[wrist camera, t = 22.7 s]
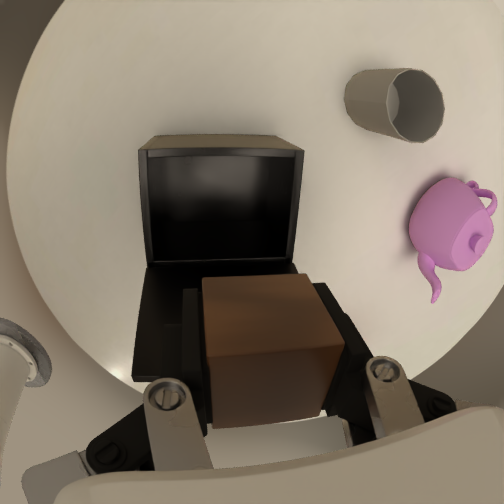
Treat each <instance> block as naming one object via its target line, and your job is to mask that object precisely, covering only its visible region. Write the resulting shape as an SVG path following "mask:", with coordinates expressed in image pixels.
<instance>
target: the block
mask: <svg viewBox="0 0 504 504" xmlns="http://www.w3.org/2000/svg"><path fill="white" fill-rule="evenodd" d="M202 295H203V313H204V329H205V344H206V357H207V365H208V366H209V373H210V389H211V404H212V417H213V423H211V425H212V428H213V429H218V428H219V429H220V428H233V427H244V426H254V425H264V424H272V423H280V422H287V421H293V420H300V419H306V418H312V417H317V416H319V414H320V412H321V408H322V406H323V403H324V401H325V398H326V395H327V393H328V390H329V387H330V385H331V382H332V379H333V376H334V373H335V371H336V368H337V365H338V362H339V359H340V356H341V353H342V351H343V348H344V345H345V342H344V340H343V338H342V336H341V334H340V332H339V331H338V329H337V327H336V325H335V323H334V322H333V320H332V318H331V316H330V315H329V313H328V311H327V309H326V307H325V306H324V304H323V302H322V300H321V299H320V297H319V295H318V293H317V292H316V290H315V288H314V286H313V285H312V283H311V281H310V279H309V278H308V276H307V274H305V273H304V274H282V275H258V276H232V277H204V278H202Z"/></svg>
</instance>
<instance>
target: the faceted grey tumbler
mask: <svg viewBox="0 0 504 504" xmlns="http://www.w3.org/2000/svg"><path fill="white" fill-rule="evenodd" d="M344 101H345V105H346V109H347V113H348V114H349V116H350V117H351V118H352V120H353V121H354V122H355V124H357V125H359V126H361V127H362V128H364V129H366V130H369V131H373V132H377V133H380V134H384V135H387V136H391V137H394V138H397V139H401V140H404V141H407V142H410V143H424V142H426V141H428V140H429V139H431V138H433V137H434V136H435V135H436V133H437V132H438V130H439V129H440V127H441V125H442V122H443V117H444V111H445V107H444V101H443V95H442V92H441V90H440V88H439V86H438V85H437V83H436V81H435V79H433V78H432V77H431V76H430V75H428V74H427V73H426V72H424V71H423V70H418V69H412V68H399V69H378V70H365V71H362V72H360V73H358V74H356V75H354V76H353V77H352V79H351V80H350V81H349V83H348V84H347V86H346V90H345V97H344Z"/></svg>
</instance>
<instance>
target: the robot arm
mask: <svg viewBox="0 0 504 504" xmlns="http://www.w3.org/2000/svg"><path fill="white" fill-rule="evenodd" d="M312 285H313V286H314V288H315V290H316V292H317V293H318V295H319V297H320V299H321V300H322V302H323V304H324V306H325V307H326V309H327V311H328V313H329V315H330V316H331V318H332V320H333V322H334V323H335V325H336V327H337V329H338V331H339V332H340V334H341V336H342V338H343V340H344V342H345V345H344V348H343V351H342V353H341V356H340V359H339V362H338V365H337V368H336V371H335V373H334V376H333V379H332V382H331V385H330V387H329V390H328V393H327V395H326V398H325V401H324V403H323V406H322V408H321V410H325V411H326V413H327V416H328V417H330V416H335V415H338V417H340V418H342V424H343V429H344V434H345V439H346V445H347V448H345V449H341V450H337V451H333V452H329V453H325V454H320V455H315V456H311V457H306V458H300V459H295V460H289V461H282V462H276V463H269V464H263V465H254V466H246V467H236V468H222V469H214V468H213V465H212V462H211V459H210V456H209V453H208V450H207V447H206V444H205V440H204V437H205V436H206V435H207V424H209V423H213V417H212V404H211V389H210V373H209V366H208V365H207V357H206V344H205V329H204V313H203V295H202V292H198V288H196V289H183V311H182V324H164V328H163V339H162V352H161V366H160V379H157V380H155V381H153V382H151V383H150V384H149V385H148V386H147V387H146V389H145V391H144V393H143V402H144V403H143V404H142V405H140V406H139V407H138V408H136V409H135V410H134V411H132V412H131V413H130V414H128V415H127V416H126V417H124V418H123V419H121V420H120V421H118V422H117V423H116V424H114V425H113V426H111V427H110V428H109V429H107V430H106V431H105V432H103V433H101V434H100V435H99V436H97V437H96V438H94V439H93V440H92V441H91V442H90V443H89V445H88V447H87V448H86V450H84V451H82V452H79V453H78V452H77V450H76V451H73V452H71V453H68V454H66V455H63V456H61V457H58V458H56V459H53V460H50V461H47V462H45V463H42V464H39V465H36V466H33V467H31V468H29V469H27V470H26V471H25V473H24V474H23V476H22V481H21V482H22V488H23V490H24V493H25V496H26V498H27V501H28V503H29V504H504V410H503V409H501V408H498V407H496V406H494V405H491V404H484V403H477V402H470V401H463V400H456V401H455V402H454V401H453V400H452V398H451V397H449V396H448V395H446V394H445V393H443V392H440V391H437V390H435V389H432V388H429V387H427V386H424V385H421V384H419V383H416V382H414V381H411V380H409V379H407V377H406V374H405V372H404V370H403V368H402V366H401V364H399V363H398V362H397V361H396V360H394V359H392V358H390V357H387V356H376V357H374V356H373V355H372V353H371V351H370V350H369V348H368V347H367V345H366V343H365V342H364V340H363V338H362V337H361V335H360V333H359V332H358V330H357V329H356V327H355V325H354V324H353V322H352V320H351V319H350V317H349V316H348V315H347V314H346V313H344V312H343V310H342V309H341V307H340V306H339V304H338V302H337V301H336V299H335V298H334V296H333V294H332V293H331V291H330V290H329V288H328V286H327V285H326V284H325V283H312ZM37 372H38V367H37V364H36V362H35V359H34V358H33V356H32V355H31V354H30V352H29V351H28V350H27V349H26V348H25V347H24V346H23V345H21V344H20V343H19V342H17V341H16V340H14V339H12V338H10V337H8V336H5V335H2V334H0V485H1V467H2V457H3V451H4V446H5V442H6V439H7V435H8V431H9V429H10V425H11V423H12V419H13V416H14V413H15V410H16V407H17V405H18V401H19V399H20V396H21V393H22V391H23V388H24V385H25V383H26V382H28V381H32V380H33V379H35V377H36V375H37Z"/></svg>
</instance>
